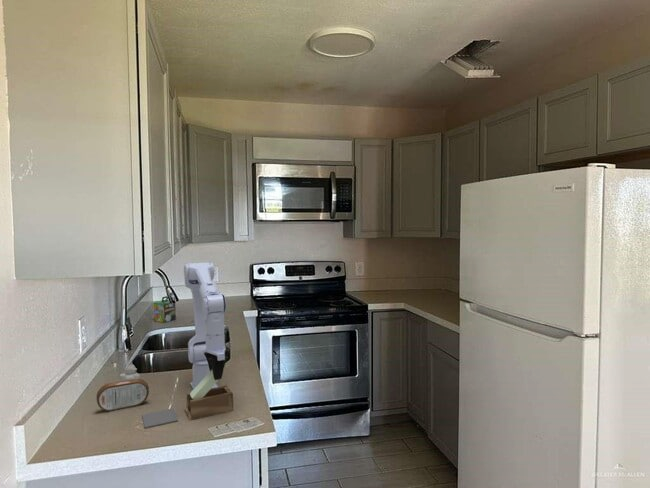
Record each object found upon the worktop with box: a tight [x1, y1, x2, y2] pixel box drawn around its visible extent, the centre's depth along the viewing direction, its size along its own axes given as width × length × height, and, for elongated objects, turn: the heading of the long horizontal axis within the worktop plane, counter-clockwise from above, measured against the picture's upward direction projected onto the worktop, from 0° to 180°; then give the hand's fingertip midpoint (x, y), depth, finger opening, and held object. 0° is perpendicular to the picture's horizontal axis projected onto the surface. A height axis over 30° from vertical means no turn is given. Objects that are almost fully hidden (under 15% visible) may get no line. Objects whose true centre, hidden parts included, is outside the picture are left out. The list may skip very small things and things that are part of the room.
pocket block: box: [184, 385, 234, 421], centre depth 130 cm, size 7×13×5 cm, turn 118°
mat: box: [141, 407, 179, 429], centre depth 125 cm, size 9×9×1 cm
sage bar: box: [189, 370, 220, 400], centre depth 129 cm, size 4×10×2 cm
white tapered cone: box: [119, 362, 141, 381], centre depth 153 cm, size 5×7×8 cm
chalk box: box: [153, 295, 177, 324], centre depth 252 cm, size 9×9×15 cm
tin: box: [95, 378, 150, 412], centre depth 133 cm, size 15×3×8 cm, turn 118°
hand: (216, 376), depth 131 cm, fingers closed on sage bar, 4 cm apart
